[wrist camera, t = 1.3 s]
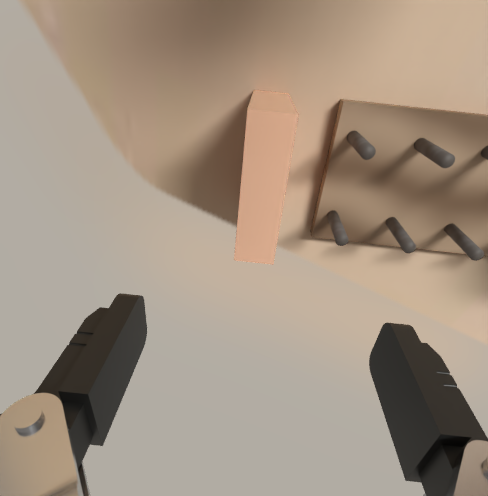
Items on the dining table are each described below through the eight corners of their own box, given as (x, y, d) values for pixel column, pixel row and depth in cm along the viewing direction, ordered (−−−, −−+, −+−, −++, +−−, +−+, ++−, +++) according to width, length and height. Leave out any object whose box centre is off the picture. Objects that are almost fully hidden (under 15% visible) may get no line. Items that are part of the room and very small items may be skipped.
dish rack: (340, 99, 25) (357, 111, 20) (580, 124, 25) (655, 142, 20) (310, 231, 32) (317, 263, 27) (501, 252, 32) (544, 289, 27)
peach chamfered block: (253, 89, 25) (247, 108, 17) (289, 93, 25) (298, 114, 17) (242, 204, 31) (233, 260, 23) (272, 207, 31) (273, 264, 23)
